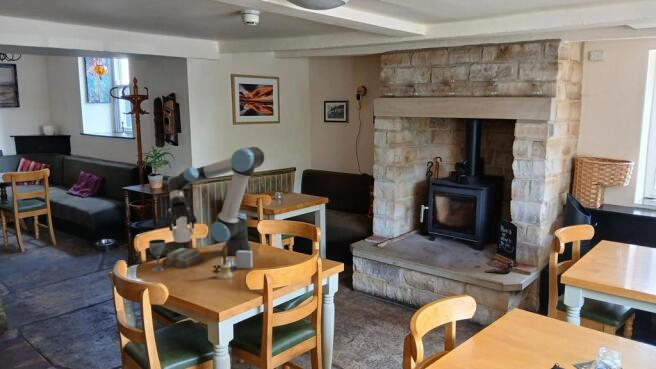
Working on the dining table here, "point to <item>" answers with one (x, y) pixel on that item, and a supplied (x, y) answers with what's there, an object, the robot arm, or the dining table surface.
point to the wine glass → (157, 251)
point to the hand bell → (224, 266)
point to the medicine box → (244, 259)
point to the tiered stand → (183, 258)
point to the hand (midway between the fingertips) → (183, 234)
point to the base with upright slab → (182, 230)
